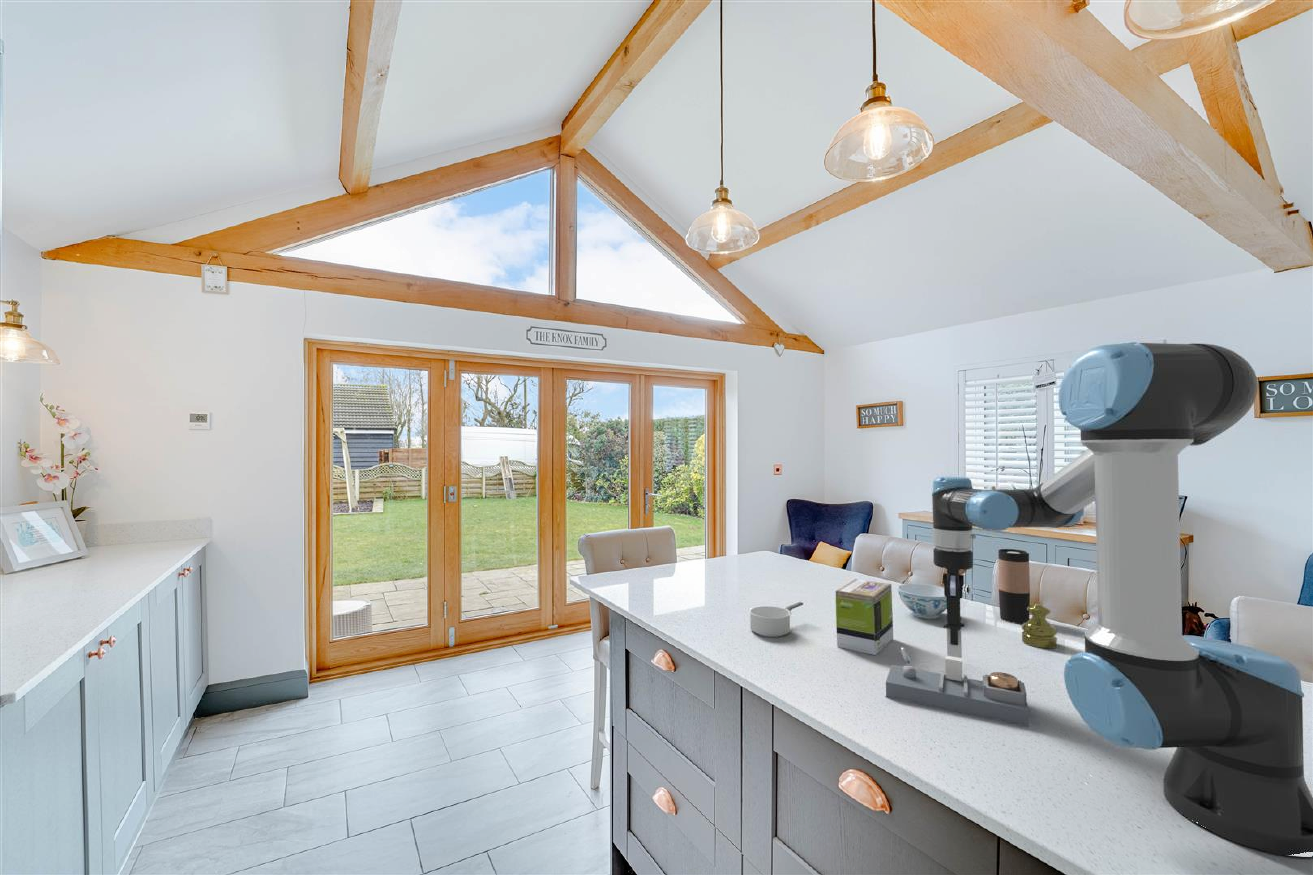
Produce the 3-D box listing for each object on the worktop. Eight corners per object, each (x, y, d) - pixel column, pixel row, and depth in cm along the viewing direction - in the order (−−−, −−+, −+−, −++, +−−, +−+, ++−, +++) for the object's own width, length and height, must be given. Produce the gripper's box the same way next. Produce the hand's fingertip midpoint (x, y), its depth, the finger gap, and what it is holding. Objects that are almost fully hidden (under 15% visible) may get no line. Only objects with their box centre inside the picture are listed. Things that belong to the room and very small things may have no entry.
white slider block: (962, 681, 109) (961, 661, 109) (945, 678, 111) (945, 658, 111) (962, 677, 111) (962, 658, 111) (945, 674, 113) (945, 655, 113)
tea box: (856, 631, 149) (855, 577, 149) (894, 639, 143) (893, 583, 143) (835, 647, 138) (834, 588, 138) (876, 656, 131) (875, 595, 131)
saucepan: (818, 626, 154) (818, 606, 154) (773, 642, 141) (772, 620, 141) (785, 616, 163) (785, 598, 163) (740, 630, 150) (740, 610, 150)
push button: (1018, 696, 101) (1018, 683, 101) (991, 691, 103) (990, 678, 103) (1016, 687, 105) (1016, 674, 105) (990, 683, 107) (989, 670, 107)
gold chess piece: (1057, 651, 134) (1056, 610, 134) (1020, 644, 138) (1020, 605, 139) (1057, 642, 140) (1056, 603, 140) (1022, 636, 144) (1022, 599, 144)
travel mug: (993, 617, 160) (992, 550, 161) (1009, 614, 164) (1008, 548, 164) (1019, 625, 153) (1018, 554, 154) (1036, 621, 157) (1035, 552, 157)
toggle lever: (910, 663, 112) (904, 648, 112) (905, 663, 112) (899, 648, 113) (910, 661, 113) (905, 646, 113) (905, 662, 113) (900, 647, 114)
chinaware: (887, 610, 168) (886, 585, 168) (926, 606, 172) (925, 581, 172) (924, 625, 153) (924, 598, 154) (965, 620, 158) (965, 594, 158)
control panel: (1028, 726, 98) (1028, 698, 98) (886, 696, 110) (885, 671, 110) (1023, 703, 107) (1023, 678, 107) (891, 678, 119) (891, 655, 119)
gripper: (973, 555, 110) (975, 672, 109) (972, 545, 121) (974, 651, 120) (931, 551, 113) (933, 665, 113) (934, 542, 125) (936, 645, 124)
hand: (954, 658), depth 117 cm, fingers closed
